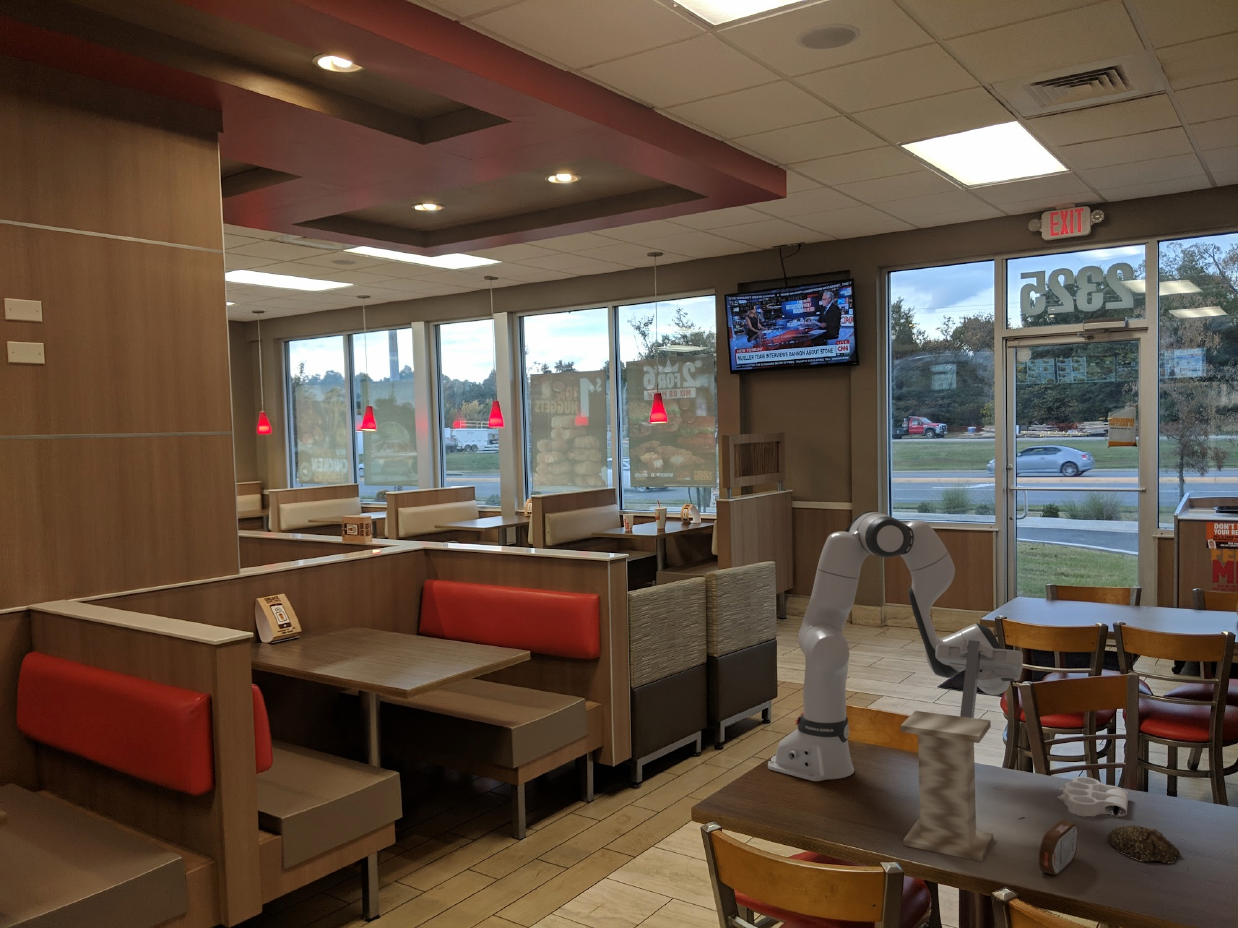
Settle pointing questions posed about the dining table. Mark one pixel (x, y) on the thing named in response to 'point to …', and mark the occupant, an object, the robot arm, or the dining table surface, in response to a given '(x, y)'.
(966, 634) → the robot arm
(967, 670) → the bar
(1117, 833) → the bread roll
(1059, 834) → the tin
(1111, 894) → the dining table surface
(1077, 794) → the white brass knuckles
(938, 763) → the shelf stand
